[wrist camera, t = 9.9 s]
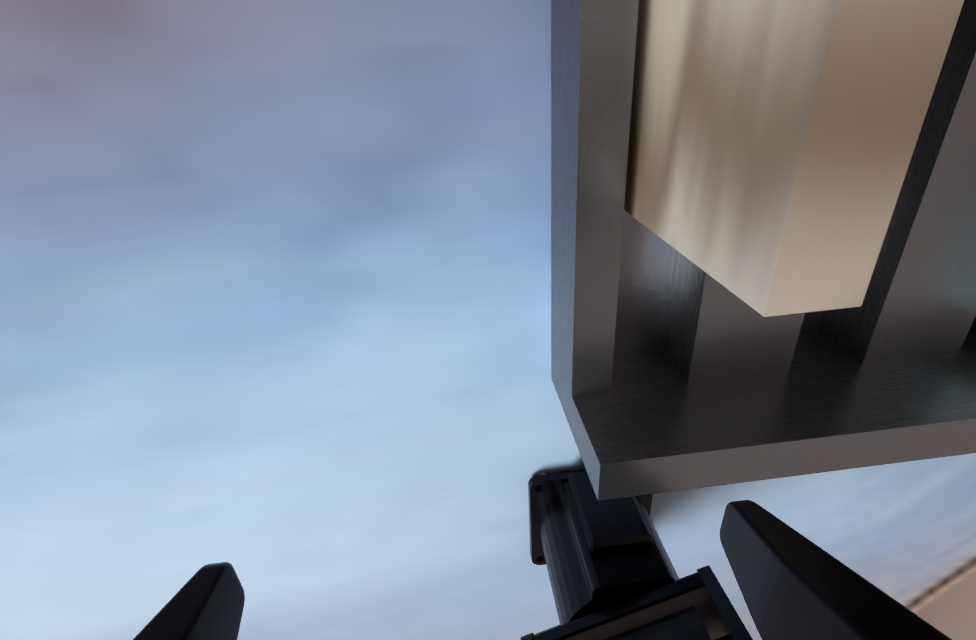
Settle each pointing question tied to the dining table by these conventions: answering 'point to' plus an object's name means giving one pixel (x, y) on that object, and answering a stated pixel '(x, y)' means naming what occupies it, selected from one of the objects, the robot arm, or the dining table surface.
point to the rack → (734, 324)
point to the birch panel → (780, 137)
